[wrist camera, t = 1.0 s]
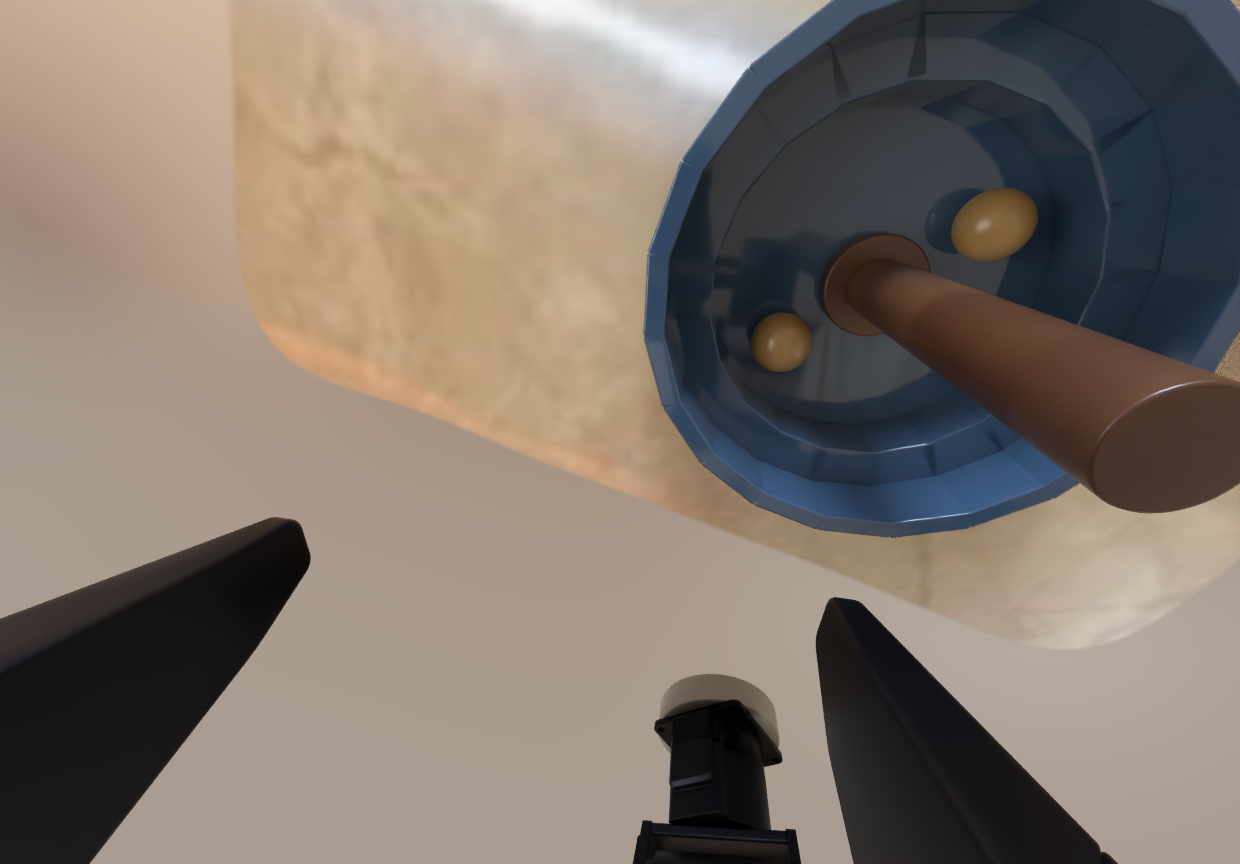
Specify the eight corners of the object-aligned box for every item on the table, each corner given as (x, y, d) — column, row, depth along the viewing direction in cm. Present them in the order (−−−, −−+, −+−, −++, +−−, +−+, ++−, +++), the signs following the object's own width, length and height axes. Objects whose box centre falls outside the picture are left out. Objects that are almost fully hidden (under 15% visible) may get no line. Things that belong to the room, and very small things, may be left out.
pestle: (936, 297, 16) (1380, 497, 6) (841, 347, 17) (1063, 589, 7) (899, 210, 15) (1349, 253, 5) (802, 268, 16) (987, 408, 6)
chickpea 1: (815, 343, 17) (829, 360, 15) (764, 371, 18) (771, 390, 16) (790, 295, 17) (801, 308, 15) (738, 326, 17) (742, 341, 16)
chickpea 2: (1020, 233, 15) (1064, 239, 13) (952, 270, 16) (984, 280, 14) (1000, 172, 14) (1042, 170, 12) (929, 214, 15) (960, 217, 13)
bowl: (1159, 344, 16) (1332, 402, 12) (768, 509, 21) (786, 593, 17) (1031, -128, 12) (1225, -314, 8) (582, 219, 17) (541, 229, 13)
